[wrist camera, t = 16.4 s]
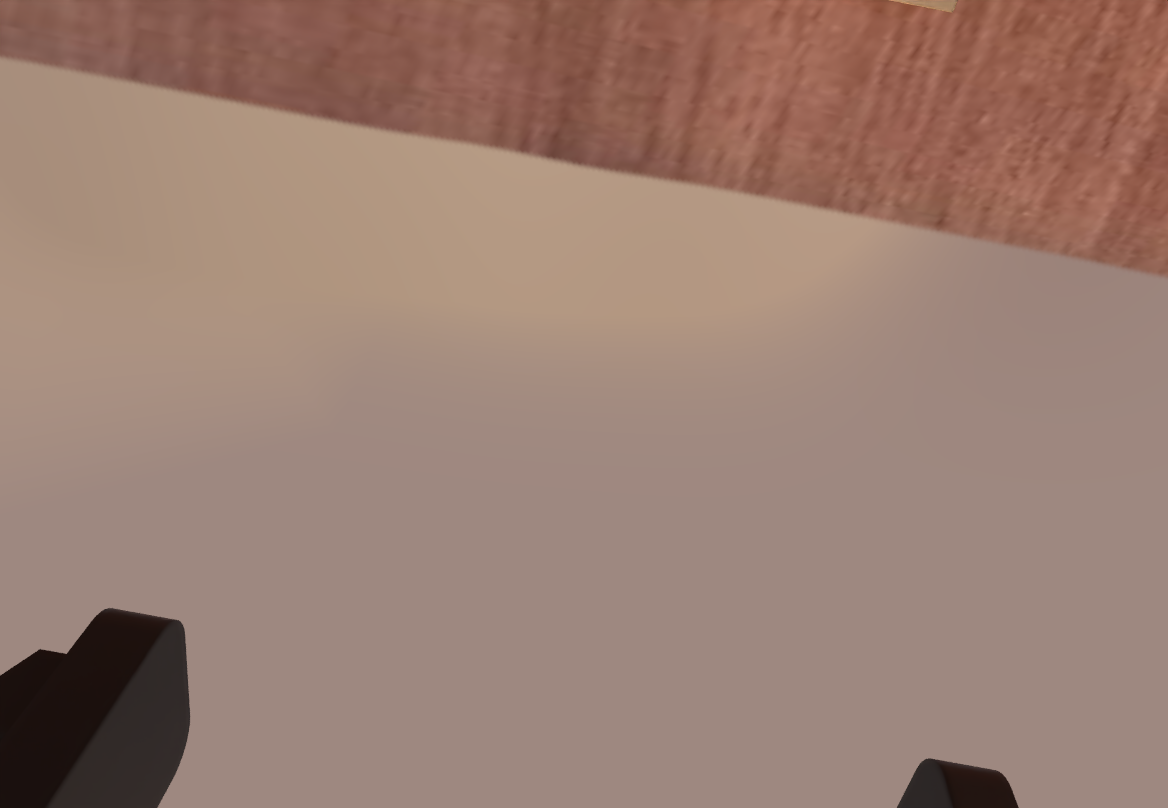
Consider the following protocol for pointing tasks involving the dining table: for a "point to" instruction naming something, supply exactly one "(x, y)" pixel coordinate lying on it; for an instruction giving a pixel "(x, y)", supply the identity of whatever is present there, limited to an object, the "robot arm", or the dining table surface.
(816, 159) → the dining table surface
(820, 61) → the dining table surface
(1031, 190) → the dining table surface
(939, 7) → the cutting board
